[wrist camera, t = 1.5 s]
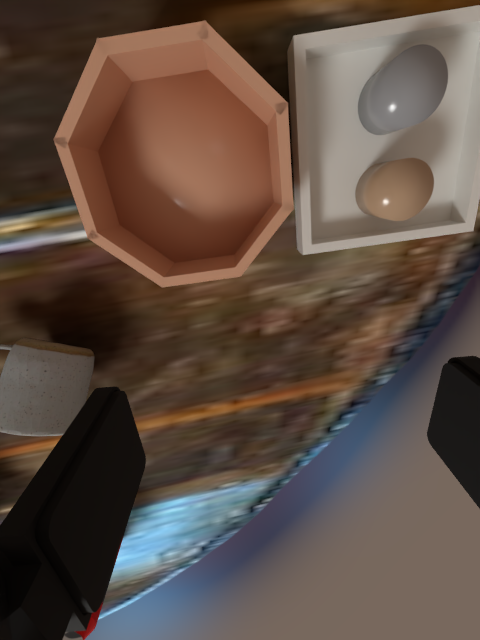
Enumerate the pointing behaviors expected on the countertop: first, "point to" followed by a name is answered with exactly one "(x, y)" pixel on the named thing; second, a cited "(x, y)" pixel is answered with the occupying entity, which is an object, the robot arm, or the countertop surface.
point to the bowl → (177, 154)
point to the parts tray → (369, 149)
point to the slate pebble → (404, 91)
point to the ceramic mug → (43, 386)
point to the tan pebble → (395, 189)
